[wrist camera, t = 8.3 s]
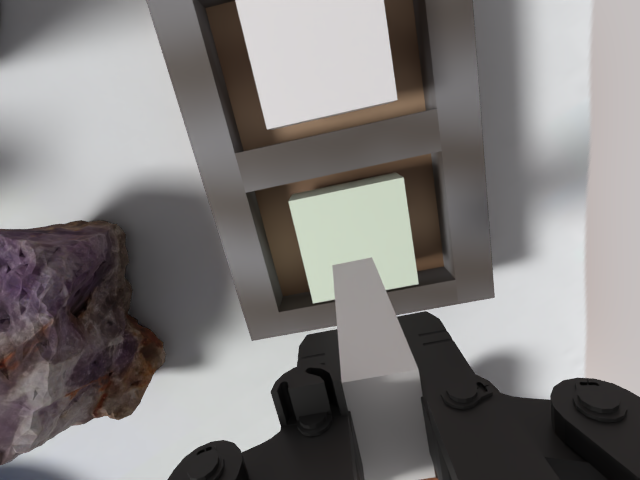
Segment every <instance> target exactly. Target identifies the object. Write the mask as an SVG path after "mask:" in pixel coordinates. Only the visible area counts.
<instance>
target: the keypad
mask: <svg viewBox="0 0 640 480" xmlns="http://www.w3.org/2000/svg"><path fill="white" fill-rule="evenodd" d="M146 1H147V4H148V7H149V11H150V14H151V17H152V20H153V24H154V27H155V30H156V33H157V36H158V40H159V43H160V46H161V49H162V53H163V56H164V59H165V62H166V65H167V69H168V72H169V75H170V78H171V82H172V85H173V88H174V91H175V94H176V98H177V101H178V104H179V107H180V111H181V114H182V117H183V120H184V124H185V127H186V130H187V133H188V136H189V140H190V143H191V146H192V149H193V153H194V156H195V159H196V162H197V165H198V169H199V172H200V175H201V178H202V182H203V185H204V188H205V191H206V194H207V198H208V201H209V204H210V207H211V211H212V214H213V217H214V220H215V223H216V227H217V230H218V233H219V236H220V240H221V243H222V246H223V249H224V253H225V256H226V259H227V262H228V265H229V269H230V272H231V275H232V278H233V282H234V285H235V288H236V291H237V294H238V298H239V301H240V304H241V307H242V311H243V314H244V317H245V320H246V323H247V327H248V330H249V333H250V336H251V340H252V341H253V340H259V339H265V338H270V337H276V336H281V335H287V334H293V333H298V332H304V331H310V330H315V329H321V328H326V327H332V326H337V318H336V306H335V300H329V301H324V302H318V303H313V301H312V297H311V293H310V289H309V285H308V280H307V276H306V272H305V268H304V264H303V260H302V256H301V252H300V247H299V243H298V239H297V235H296V231H295V227H294V223H293V219H292V215H291V210H290V206H289V202H288V201H289V199H290V197H291V195H292V194H295V193H300V192H305V191H309V190H314V189H319V188H324V187H329V186H333V185H338V184H343V183H348V182H352V181H357V180H362V179H367V178H371V177H376V176H381V175H386V174H390V173H395V172H396V173H397V174H399V175H401V176H402V177H404V184H405V191H406V198H407V205H408V212H409V219H410V226H411V233H412V240H413V247H414V254H415V261H416V268H417V275H418V282H419V284H416V285H411V286H405V287H400V288H394V289H389V290H386V292H387V295H388V297H389V299H390V302H391V304H392V307H393V309H394V311H395V314H396V315H399V314H405V313H411V312H416V311H422V310H427V309H433V308H439V307H444V306H450V305H456V304H461V303H467V302H472V301H478V300H484V299H489V298H495V296H494V282H493V269H492V255H491V242H490V229H489V215H488V202H487V188H486V175H485V162H484V148H483V135H482V121H481V108H480V95H479V81H478V68H477V54H476V41H475V28H474V14H473V1H472V0H384V5H385V13H386V20H387V27H388V34H389V42H390V49H391V56H392V63H393V70H394V78H395V85H396V92H397V99H398V100H396V101H394V102H391V103H388V104H384V105H380V106H375V107H371V108H366V109H362V110H357V111H353V112H349V113H344V114H340V115H335V116H331V117H326V118H322V119H318V120H313V121H309V122H304V123H300V124H295V125H291V126H287V127H282V128H278V129H269V130H267V128H266V124H265V120H264V116H263V112H262V108H261V103H260V99H259V95H258V91H257V87H256V83H255V79H254V75H253V71H252V67H251V63H250V59H249V55H248V51H247V47H246V42H245V38H244V34H243V30H242V26H241V22H240V18H239V14H238V10H237V6H236V2H235V0H146Z"/></svg>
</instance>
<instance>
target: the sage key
mask: <svg viewBox="0 0 640 480" xmlns="http://www.w3.org/2000/svg"><path fill="white" fill-rule="evenodd" d="M288 202H289V206H290V210H291V215H292V219H293V223H294V227H295V231H296V235H297V239H298V243H299V247H300V252H301V256H302V260H303V264H304V268H305V272H306V276H307V280H308V285H309V289H310V293H311V297H312V301H313V303H318V302H324V301H329V300H335V293H334V280H333V268H332V265H336V264H341V263H346V262H351V261H356V260H361V259H366V258H371V257H372V258H373V261H374V263H375V266H376V268H377V270H378V273H379V275H380V278H381V280H382V283H383V285H384V287H385V290H389V289H394V288H400V287H405V286H411V285H416V284H419V282H418V275H417V268H416V261H415V254H414V247H413V240H412V233H411V226H410V219H409V212H408V205H407V198H406V191H405V184H404V177H402V176H401V175H399V174H397V173H396V172H395V173H390V174H386V175H381V176H376V177H371V178H367V179H362V180H357V181H352V182H348V183H343V184H338V185H333V186H329V187H324V188H319V189H314V190H309V191H305V192H300V193H295V194H292V195H291V197H290V199H289V201H288Z"/></svg>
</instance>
